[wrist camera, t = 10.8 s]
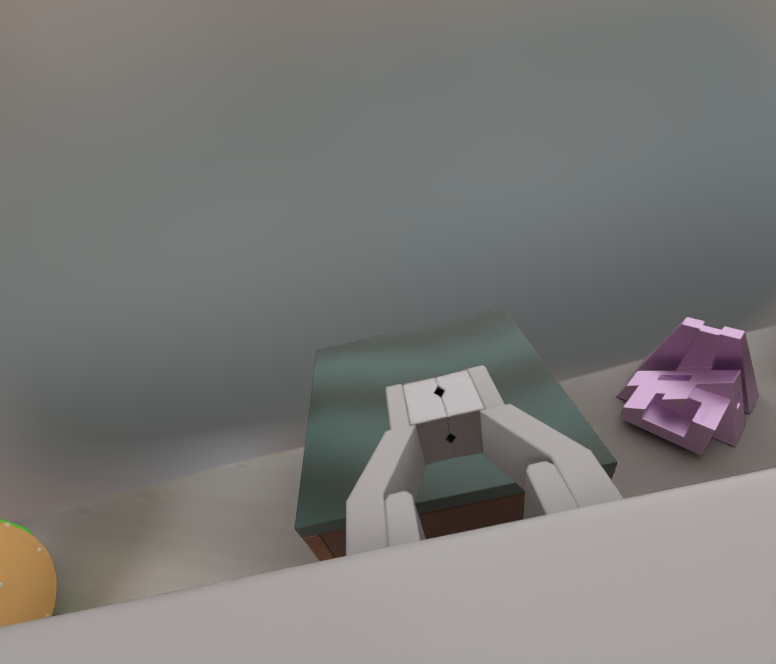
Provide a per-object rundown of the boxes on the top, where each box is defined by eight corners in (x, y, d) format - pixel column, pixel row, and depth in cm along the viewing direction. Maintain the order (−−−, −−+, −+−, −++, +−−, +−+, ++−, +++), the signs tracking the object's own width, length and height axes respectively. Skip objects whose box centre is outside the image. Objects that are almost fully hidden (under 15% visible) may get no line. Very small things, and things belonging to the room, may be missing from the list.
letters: (723, 471, 21) (766, 406, 17) (602, 414, 25) (617, 354, 22) (758, 394, 24) (799, 327, 21) (646, 357, 29) (664, 297, 26)
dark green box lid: (320, 359, 25) (316, 349, 24) (503, 318, 24) (503, 307, 24) (301, 538, 15) (293, 529, 14) (614, 474, 14) (618, 462, 14)
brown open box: (348, 434, 29) (319, 366, 24) (507, 400, 28) (508, 324, 24) (349, 600, 19) (301, 539, 15) (588, 553, 19) (614, 475, 14)
